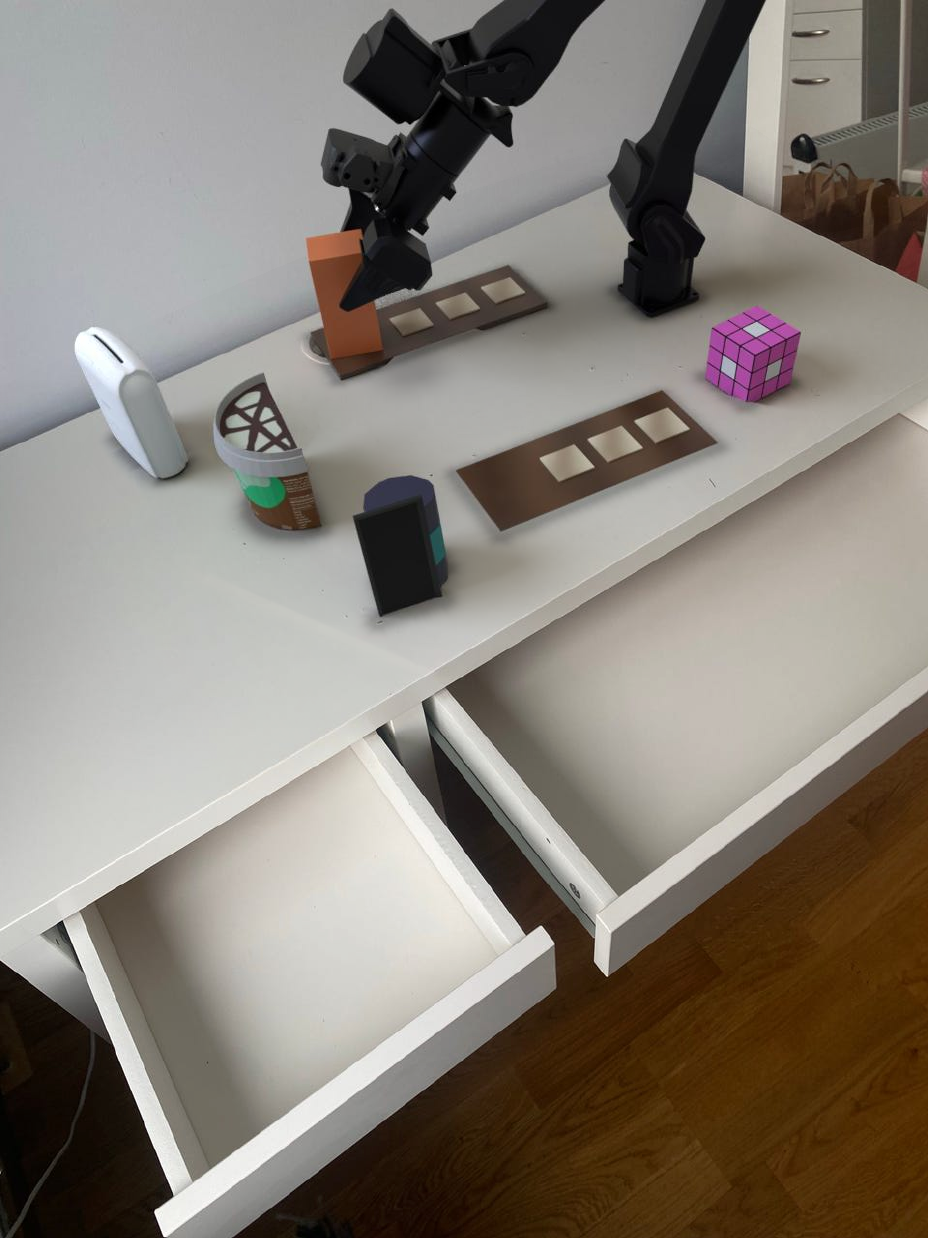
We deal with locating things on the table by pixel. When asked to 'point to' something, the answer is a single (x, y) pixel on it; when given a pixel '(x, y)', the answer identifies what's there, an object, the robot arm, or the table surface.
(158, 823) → the table surface
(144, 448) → the photo printer
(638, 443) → the word board
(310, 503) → the food container
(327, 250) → the tall orange brick
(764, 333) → the puzzle toy
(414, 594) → the speaker
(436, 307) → the word board
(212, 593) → the table surface
